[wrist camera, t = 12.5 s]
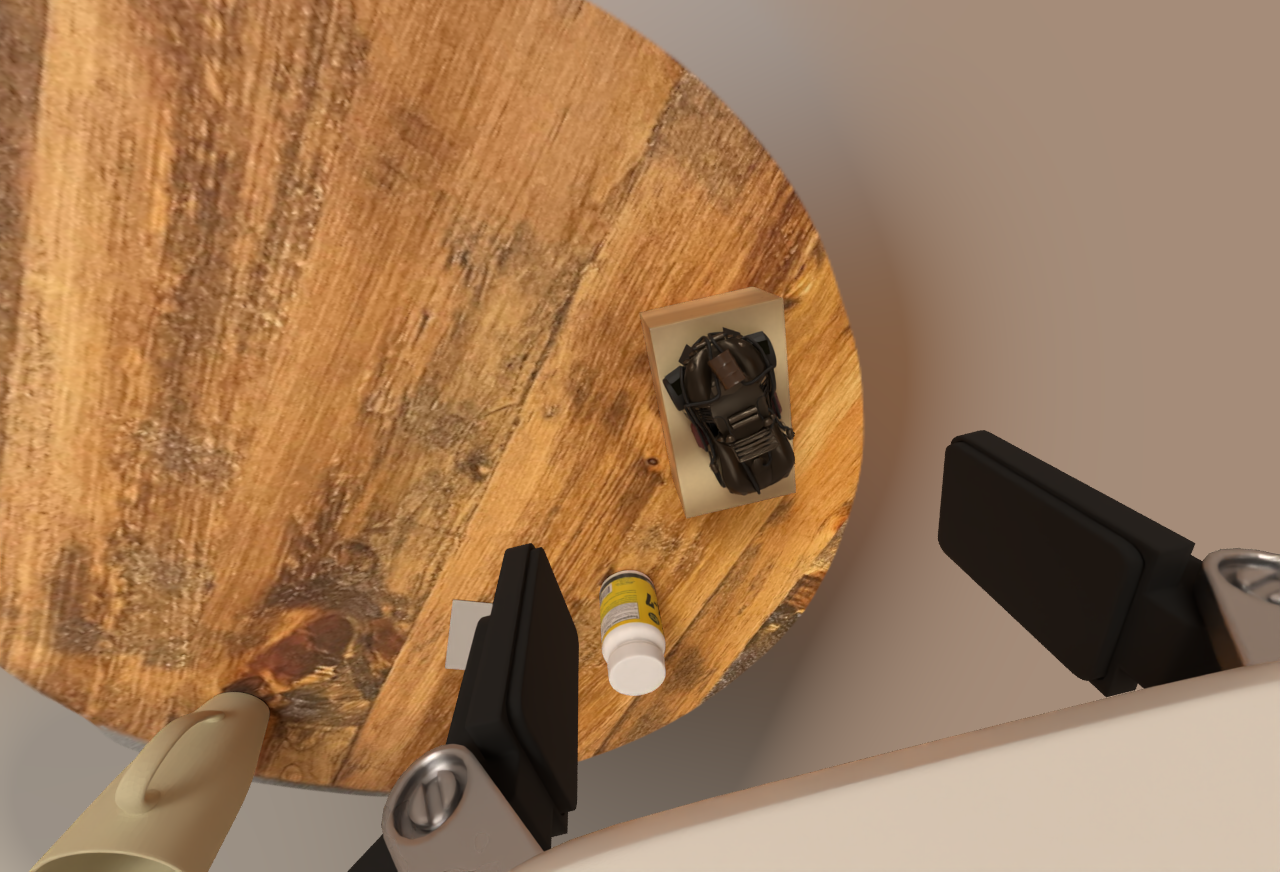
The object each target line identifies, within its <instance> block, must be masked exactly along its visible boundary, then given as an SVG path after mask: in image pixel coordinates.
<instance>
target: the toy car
mask: <svg viewBox="0 0 1280 872" xmlns="http://www.w3.org/2000/svg"><path fill="white" fill-rule="evenodd" d="M722 328H723V332H712V333H708V334H707V335H708V336H701V337H700V338H699V339H698V340H697V341H696V342H695V343H694V344H693V346H692V347H690V346H689V345H687V344H686V346H685V348H684V350H683V352H682V354H681V357H680V359H679V361H678V362H679V363H681V364H682V365H684V366H681V365H680V366H679V367H677V368H676V369H674V370H673V371H672V372H670V373H669V374H667V375H666V376H665V378H664V379H662V381H663V384H664V386H665V388H666V390H667V392H668V394H669V396H670V398H671V400H672V401H673V403H674V405H675V407H676V408H677V410H678V411H683V410H684V409H685V411H686V413H685V412H684V411H683V412H684V414H685V415H686V417H687V418H688V419H689V420H690V421H691V422H692V423H691V424H690V427H691V432H692V433H693V435H694V438H695V440H696V443H697V445H698V447H700V448H702V449H704V450H705V451H706V452H708V453H709V457H710V460H711V462H710V464H709V467H711V470H712V472H714V475H715V477H716V479H717V480H718V482H719V484H720V485H721V486H722V487H723V488H726V487H727V489H728V490H729V492H730V493H732V494H735V495H736V494H737V495H743V496H746V495H747V494H751V493H754V492H757V493H758V494H761V492H760V490H762V489H765V488H767V487H769V486H771V485H773V484H775V483H777V482H779V481H781V480H782V479H784V478H787V477H788V476H789V474H790V471H791V470H793V469H792V468H793V466H794V464H795V456H794V452H793V449H792V447H791V445H790V442H789V440H792V439H793V437H794V434H795V433H794V432H793V429H792V428H789V427H788V426H784V425H783V424H782V423H783V422H782V423H781V421H779V420H778V419H781V412H782V407H781V404H780V402H779V399H778V396H777V393H776V378H775V372H774V368H775V367H776V365H777V360H776V354H775V351H774V348H773V345H772V343H771V341H770V339H769V338H768V336H767V335H766V334H765V333H763V331H760V332H756V333H753V334H749V335H746V336H742V335H741V334H740V332H737V331H734V330H731V329H727V328H724V327H722ZM724 337H725V338H726V340H725V338H724ZM711 344H712V345H711ZM695 350H696V351H697V352H696V351H695ZM686 366H687V367H686ZM765 376H766V379H765V380H764V382H763V383H762V384H761V382H762V380H763V379H764V377H765ZM764 383H765V384H764ZM763 384H764V385H763ZM695 408H699V410H696V409H695ZM688 409H689V410H688ZM699 411H700V412H699ZM695 413H696V414H695ZM699 414H701V415H699ZM769 414H770V415H769ZM697 416H698V417H697ZM701 416H702V417H701ZM777 417H778V418H777ZM698 418H699V419H700V420H701V421H700V420H699V419H698ZM703 424H704V425H703ZM784 424H785V423H784ZM705 427H706V428H705ZM780 429H782V430H783V431H784V432H785V431H786V434H784V433H783V432H782V431H781V430H780ZM707 430H708V431H707ZM788 439H789V440H788ZM708 445H710V448H711V451H709V450H708ZM711 452H712V454H711ZM712 456H713V457H712ZM719 458H720V459H719ZM714 461H715V462H714ZM794 467H795V466H794Z"/></svg>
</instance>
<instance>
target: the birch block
mask: <svg viewBox="0 0 1280 872" xmlns="http://www.w3.org/2000/svg"><path fill="white" fill-rule="evenodd" d="M640 319H641V324H642V329H643V333H644V338H645V343H646V348H647V353H648V358H649V363H650V368H651V373H652V378H653V383H654V388H655V393H656V398H657V403H658V408H659V413H660V418H661V423H662V428H663V433H664V438H665V442H666V447H667V452H668V457H669V462H670V467H671V472H672V477H673V482H674V484H675V487H676V490H677V493H678V496H679V499H680V502H681V505H682V507H683V510H684V513H685V516H686V518H691V517H695V516H699V515H703V514H708V513H712V512H716V511H720V510H725V509H729V508H733V507H737V506H741V505H746V504H750V503H754V502H758V501H762V500H767V499H771V498H775V497H779V496H783V495H788V494H792V493H796V484H795V469H794V466H793V468H792V469H793V470H791V471H790V474H789V476H788V477H787V478H784V479H782V480H781V481H779V482H777V483H775V484H773V485H771V486H769V487H767V488H765V489H762V490H760V492H761V494H758V493H757V492H754V493H751V494H747V495H746V496H743V495H737V494H736V495H735V494H732V493H730V492H729V490H728V489H727V487H726V488H723V487H722V486H721V485H720V484H719V482H718V480H717V479H716V477H715V475H714V472H712V470H711V467H709V464H710V462H711V460H710V457H709V453H708V452H706V451H705V450H704V449H702V448H700V447H698V445H697V443H696V440H695V438H694V435H693V433H692V432H691V427H690V424H691V423H692V422H691V421H690V420H689V419H688V418H687V417H686V415H685V414H684V412H685V413H686V411H685V409H684V410H683V411H684V412H683V411H678V410H677V408H676V407H675V405H674V403H673V401H672V400H671V398H670V396H669V394H668V392H667V390H666V388H665V386H664V384H663V381H662V379H664V378H665V376H666V375H667V374H669V373H670V372H672V371H673V370H674V369H676V368H677V367H679V366H680V365H681V366H684V365H682V364H681V363H679V362H678V361H679V359H680V357H681V354H682V352H683V350H684V348H685V346H686V344H687V345H689V346H690V347H692V346H693V344H694V343H695V342H696V341H697V340H698V339H699V338H700V337H701V336H708V335H707V334H708V333H712V332H723V328H722V327H724V328H727V329H731V330H734V331H737V332H740V334H741V335H742V336H746V335H749V334H753V333H756V332H760V331H763V333H765V334H766V335H767V336H768V338H769V339H770V341H771V343H772V345H773V348H774V351H775V354H776V360H777V365H776V367H775V368H774V372H775V378H776V393H777V396H778V399H779V402H780V404H781V407H782V412H781V419H778V420H779V421H781V423H782V422H783V423H782V424H783V425H784V426H788V427H789V428H792V424H791V409H790V394H789V379H788V364H787V349H786V334H785V319H784V304H783V298H782V297H779V296H777V295H774V294H771V293H769V292H766V291H763V290H761V289H758V288H756V287H749V288H744V289H740V290H736V291H731V292H727V293H723V294H718V295H714V296H710V297H705V298H701V299H697V300H692V301H688V302H684V303H679V304H675V305H671V306H666V307H662V308H658V309H653V310H649V311H645V312H640ZM724 338H725V337H724ZM725 340H726V338H725ZM711 345H712V344H711ZM695 351H696V350H695ZM696 352H697V351H696ZM686 367H687V366H686ZM765 379H766V376H765V377H764V379H763V380H762V382H761V384H762V383H763V382H764V380H765ZM764 384H765V383H764ZM764 384H763V385H764ZM695 409H696V410H699V408H695ZM688 410H689V409H688ZM699 412H700V411H699ZM695 414H696V413H695ZM699 415H701V414H699ZM769 415H770V414H769ZM697 417H698V416H697ZM701 417H702V416H701ZM777 418H778V417H777ZM698 419H699V418H698ZM699 420H700V419H699ZM700 421H701V420H700ZM784 423H785V424H784ZM703 425H704V424H703ZM705 428H706V427H705ZM780 430H781V431H782V432H783V433H784V434H786V431H785V432H784V431H783V430H782V429H780ZM707 431H708V430H707ZM788 440H789V439H788ZM789 442H790V445H791V447H792V449H793V439H792V440H789ZM708 450H709V451H711V448H710V445H708ZM711 454H712V452H711ZM712 457H713V456H712ZM719 459H720V458H719ZM714 462H715V461H714Z"/></svg>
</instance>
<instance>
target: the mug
mask: <svg viewBox="0 0 1280 872" xmlns="http://www.w3.org/2000/svg"><path fill="white" fill-rule="evenodd" d="M269 717H270V711H269V708H268V706H267V705H266V704H265V703H264V702H263V701H262V700H260V699H259V698H257V697H255V696H252V695H249V694H246V693H240V692H227V693H222V694H218V695H216V696H214V697H213V698H211V699H210V700H209V701H207V702H206V703H205V704H203V705H202V706H201V707H200V708H198V709H197V710H196V711H194V712H193V713H190V714H187V715H184V716H182V717H180V718H178V719H176V720H174V721H172V722H171V723H169V724H168V725H166V726H165V727H164V728H163V729H162V730H161V731H159V732H158V733H157V734H156V735H155V736H154V737H153V739H152V740H151V741H150V742H149V743H148V744H147V745H146V746H145V747H144V748H143V750H142V751H141V752H140V753H139V755H138V756H137V757H136V758H135V760H134V761H132V762H131V763H130V764H129V765H128V766H127V767H126V768H125V769H124V770H123V771H122V772H121V773H120V774H119V775H118V776H117V777H116V778H115V779H114V780H113V781H112V782H111V784H109V786H108V787H107V788H106V789H105V790H104V791H103V792H102V793H101V794H100V795H99V796H98V797H97V798H96V799H95V801H94V802H93V803H92V804H91V805H90V806H89V807H88V808H87V809H86V810H85V811H84V812H83V813H82V815H81V816H80V817H79V818H78V819H77V820H76V821H75V822H74V823H73V824H72V825H71V826H70V827H69V829H68V830H67V831H66V832H65V833H64V834H63V835H62V836H61V837H60V838H59V839H58V840H57V842H56V843H55V844H54V845H53V846H52V847H51V848H50V849H49V850H48V851H47V852H46V853H45V854H44V855H43V857H42V858H41V859H40V860H39V861H38V862H37V863H36V864H35V865H34V866H33V868H32V869H31V870H30V871H29V872H208V870H209V868H210V867H211V865H212V863H213V860H214V859H215V857H216V855H217V853H218V851H219V849H220V847H221V845H222V843H223V841H224V839H225V837H226V835H227V834H228V831H229V830H230V828H231V826H232V824H233V822H234V820H235V818H236V816H237V814H238V812H239V810H240V808H241V806H242V803H243V801H244V799H245V797H246V794H247V792H248V790H249V787H250V784H251V782H252V779H253V776H254V772H255V769H256V766H257V762H258V758H259V754H260V751H261V747H262V743H263V739H264V736H265V732H266V728H267V724H268V721H269Z"/></svg>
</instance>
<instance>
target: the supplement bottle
mask: <svg viewBox="0 0 1280 872" xmlns="http://www.w3.org/2000/svg"><path fill="white" fill-rule="evenodd" d="M600 618H601V640H602V653H603V657H604V659H605V661H606V662H607V663H608V675H609V682H610V684H611V686H612V687H613V688H614V689H615V690H616V691H618V692H619V693H622V694H625V695H631V696H636V695H643V694H647V693H649V692H652V691H654V690H655V689H657V688H658V687H659V686H660V685H661V684H662V682H663V681H664V679H665V675H666V669H665V660H664V652H665V637H664V633H663V627H662V622H661V617H660V612H659V607H658V602H657V597H656V592H655V587H654V584H653V583H652V581H651V580H650V578H649V577H648V576H646V575H645V574H643V573H641V572H639V571H634V570H625V571H620V572H617V573H615V574H613V575H611V576H610V577H608V578H607V579H606V580H605V581H604V583H603V584H602V586H601V589H600Z"/></svg>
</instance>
